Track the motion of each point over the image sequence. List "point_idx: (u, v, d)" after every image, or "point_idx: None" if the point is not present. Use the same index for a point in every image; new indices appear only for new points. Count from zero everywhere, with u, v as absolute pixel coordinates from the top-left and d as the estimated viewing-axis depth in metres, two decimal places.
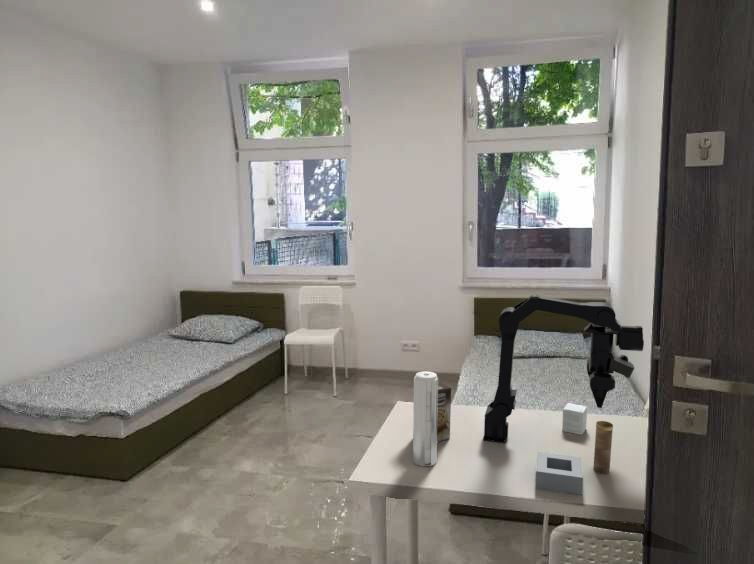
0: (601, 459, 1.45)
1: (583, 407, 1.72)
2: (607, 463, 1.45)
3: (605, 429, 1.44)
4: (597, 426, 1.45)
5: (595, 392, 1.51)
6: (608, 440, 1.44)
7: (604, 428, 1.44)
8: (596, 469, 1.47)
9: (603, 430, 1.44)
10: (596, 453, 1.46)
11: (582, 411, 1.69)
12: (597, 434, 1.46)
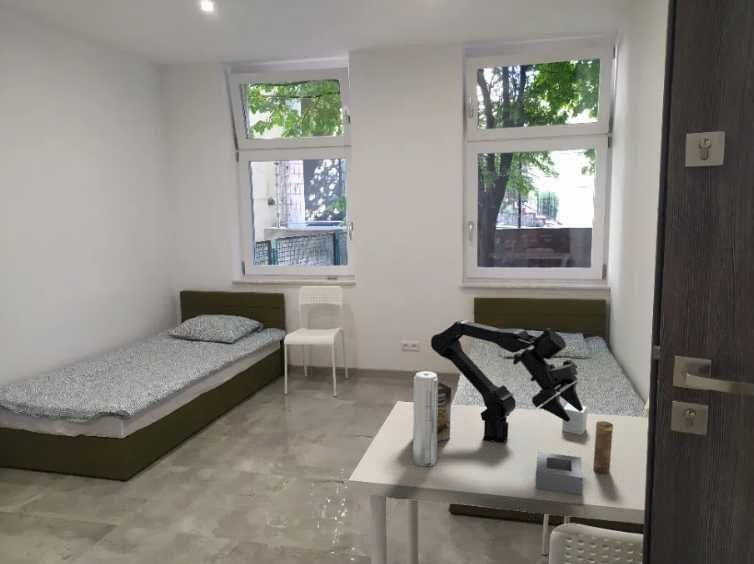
0: (601, 459, 1.45)
1: (583, 407, 1.72)
2: (607, 463, 1.45)
3: (605, 429, 1.44)
4: (597, 426, 1.45)
5: (551, 410, 1.48)
6: (609, 440, 1.44)
7: (604, 428, 1.44)
8: (596, 469, 1.47)
9: (603, 430, 1.44)
10: (596, 453, 1.46)
11: (582, 411, 1.69)
12: (597, 434, 1.46)
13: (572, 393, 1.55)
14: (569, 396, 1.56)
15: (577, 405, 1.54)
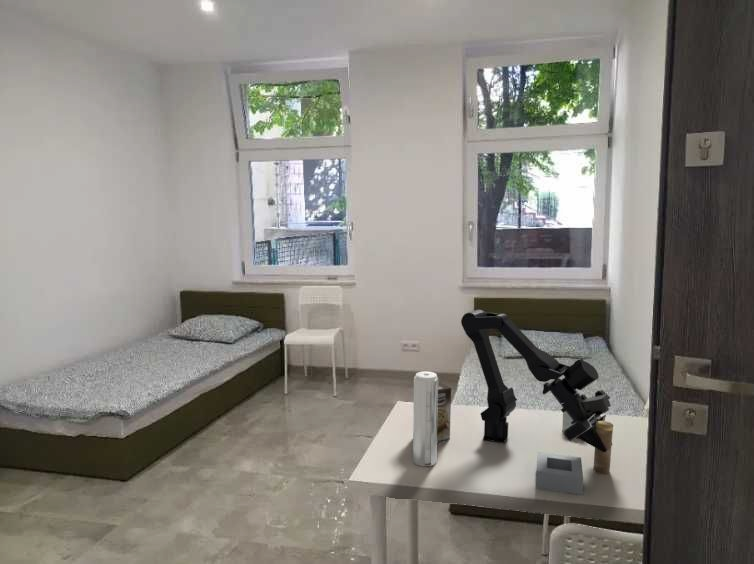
0: (601, 459, 1.45)
1: None
2: (607, 463, 1.45)
3: (605, 429, 1.44)
4: (597, 426, 1.45)
5: (587, 440, 1.45)
6: (609, 440, 1.44)
7: (604, 428, 1.44)
8: (596, 469, 1.47)
9: (603, 430, 1.44)
10: (596, 453, 1.46)
11: None
12: None
13: None
14: None
15: None
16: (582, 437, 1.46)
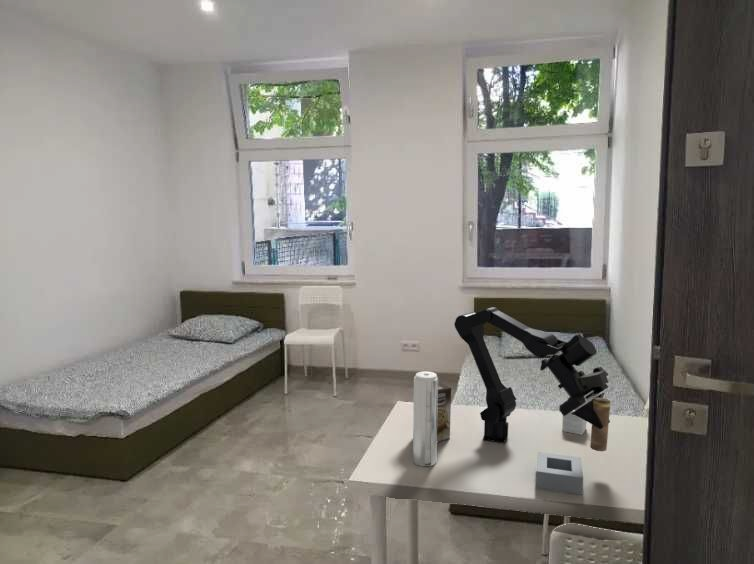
0: (597, 436, 1.43)
1: None
2: (604, 440, 1.43)
3: (602, 405, 1.42)
4: (594, 402, 1.43)
5: (583, 416, 1.44)
6: (605, 417, 1.42)
7: (601, 405, 1.42)
8: (593, 446, 1.45)
9: (600, 407, 1.42)
10: (593, 430, 1.44)
11: None
12: (594, 410, 1.44)
13: None
14: None
15: None
16: (578, 413, 1.44)
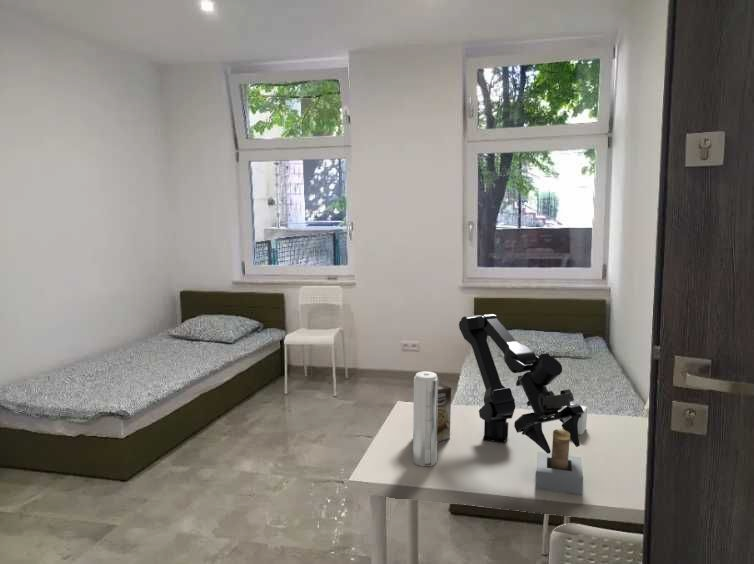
0: (554, 468, 1.41)
1: (583, 407, 1.72)
2: None
3: (558, 437, 1.39)
4: (553, 433, 1.41)
5: (533, 437, 1.41)
6: (562, 450, 1.39)
7: (556, 436, 1.39)
8: None
9: (556, 438, 1.39)
10: (551, 461, 1.42)
11: None
12: None
13: (572, 426, 1.44)
14: (569, 429, 1.45)
15: (574, 439, 1.42)
16: (529, 434, 1.42)
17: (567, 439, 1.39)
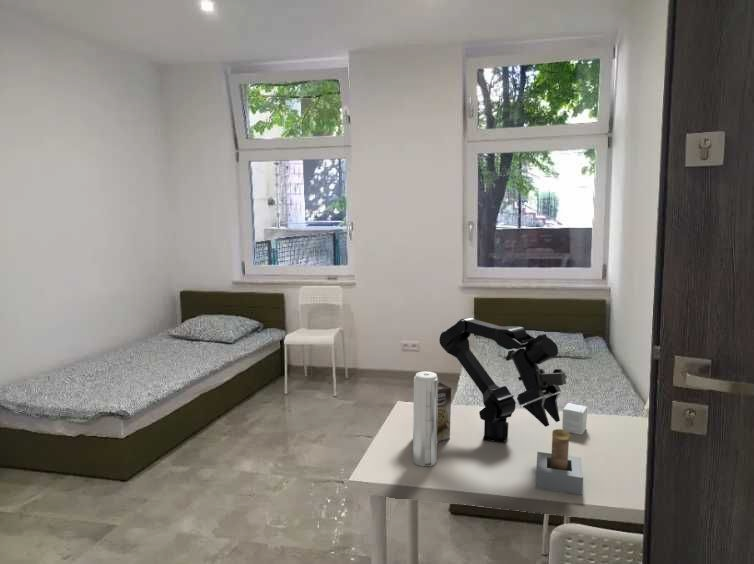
0: (553, 468, 1.41)
1: (583, 407, 1.72)
2: None
3: (557, 437, 1.39)
4: (552, 433, 1.41)
5: (532, 411, 1.47)
6: (561, 449, 1.39)
7: (556, 436, 1.39)
8: None
9: (555, 438, 1.40)
10: (551, 461, 1.42)
11: (582, 411, 1.69)
12: (552, 441, 1.41)
13: (553, 403, 1.55)
14: (549, 405, 1.56)
15: (555, 415, 1.54)
16: (529, 407, 1.47)
17: (566, 439, 1.39)
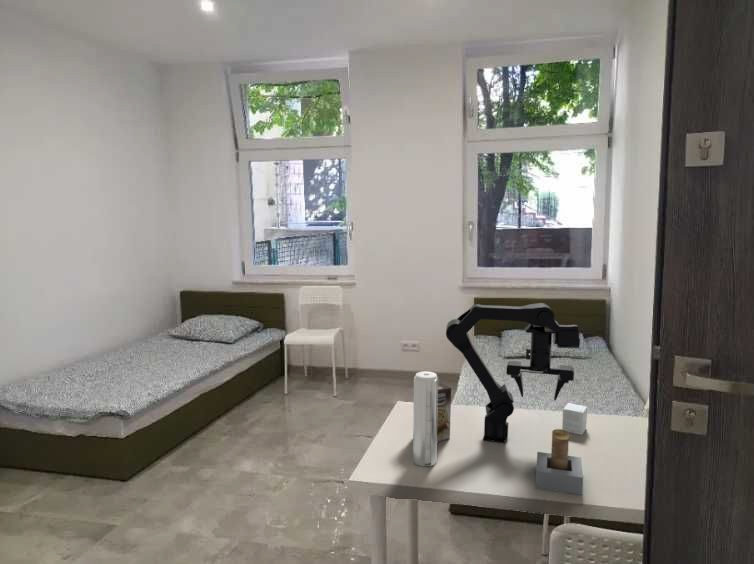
0: (553, 468, 1.41)
1: (583, 407, 1.72)
2: None
3: (557, 437, 1.39)
4: (552, 433, 1.41)
5: None
6: (561, 449, 1.39)
7: (556, 436, 1.39)
8: None
9: (555, 438, 1.40)
10: (551, 461, 1.42)
11: (582, 411, 1.69)
12: (552, 441, 1.41)
13: (521, 379, 1.65)
14: (522, 381, 1.64)
15: None
16: None
17: (566, 439, 1.39)
